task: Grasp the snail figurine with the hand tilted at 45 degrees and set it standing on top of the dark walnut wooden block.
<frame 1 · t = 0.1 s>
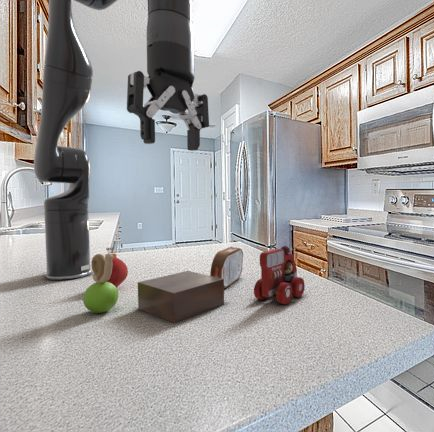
hand: (172, 147, 53), 29 cm above the countertop, tool pointing down, fingers open, 8 cm apart
snail figurine: (103, 313, 55), on the countertop
onion: (113, 289, 69), on the countertop
toy fire truck: (280, 298, 63), on the countertop
walnut block: (182, 306, 58), on the countertop
tin: (228, 284, 73), on the countertop
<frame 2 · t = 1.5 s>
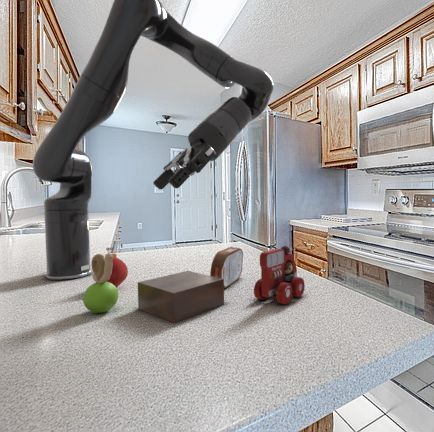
hand: (164, 186, 61), 23 cm above the countertop, tool tilted 45°, fingers open, 8 cm apart
nothing on the countertop moved.
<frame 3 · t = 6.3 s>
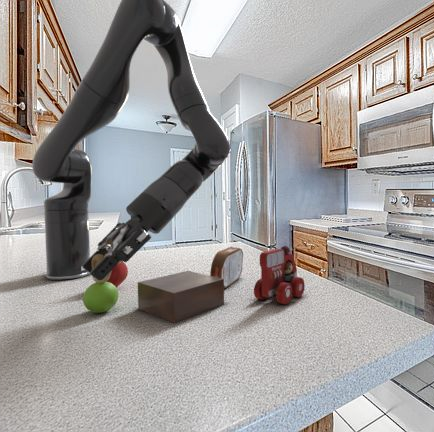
hand: (90, 273, 53), 7 cm above the countertop, tool tilted 45°, fingers closed on snail figurine, 6 cm apart
snail figurine: (103, 313, 55), on the countertop, touching gripper
everything else where it was.
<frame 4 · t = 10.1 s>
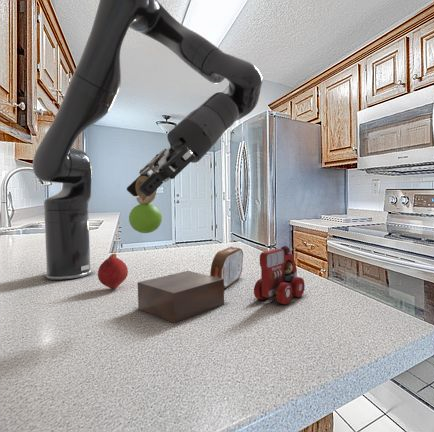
hand: (136, 192, 54), 21 cm above the countertop, tool tilted 45°, fingers closed on snail figurine, 6 cm apart
snail figurine: (147, 234, 56), point 14 cm above the countertop, touching gripper
everything else where it was.
when the fingers open (12 cm above the countertop, at t = 13.9 s): snail figurine stays where it is, resting on walnut block.
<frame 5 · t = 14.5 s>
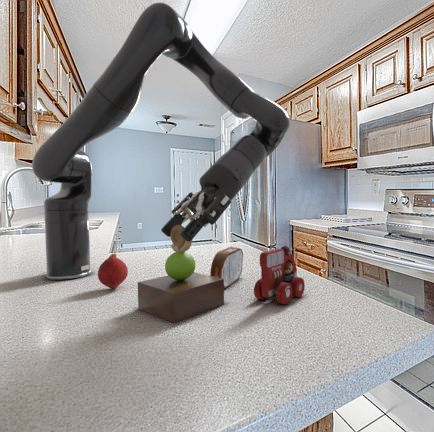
hand: (174, 236, 56), 13 cm above the countertop, tool tilted 45°, fingers open, 8 cm apart
snail figurine: (182, 281, 58), point 5 cm above the countertop, touching walnut block
everything else where it was.
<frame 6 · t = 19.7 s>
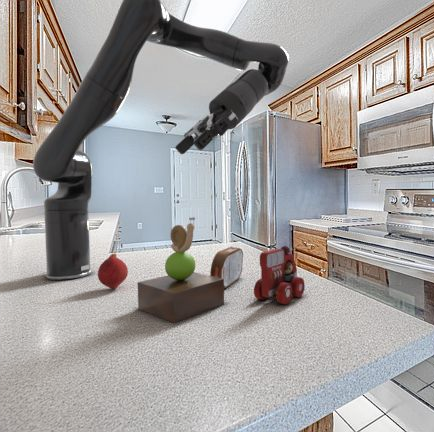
hand: (187, 148, 64), 31 cm above the countertop, tool tilted 45°, fingers open, 8 cm apart
nothing on the countertop moved.
at the end: snail figurine inside the target area on the walnut block (0.1 cm from its centre), point 4.8 cm above the walnut block's base; snail figurine tilted 0°; the gripper is holding nothing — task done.
